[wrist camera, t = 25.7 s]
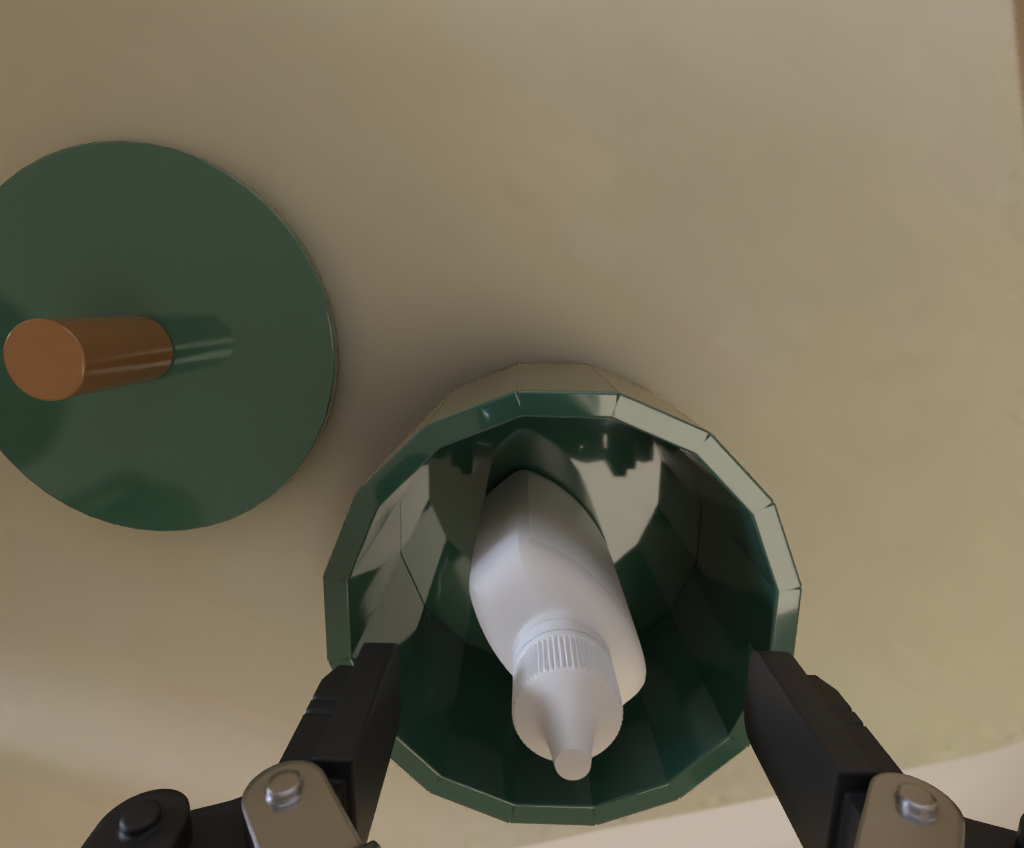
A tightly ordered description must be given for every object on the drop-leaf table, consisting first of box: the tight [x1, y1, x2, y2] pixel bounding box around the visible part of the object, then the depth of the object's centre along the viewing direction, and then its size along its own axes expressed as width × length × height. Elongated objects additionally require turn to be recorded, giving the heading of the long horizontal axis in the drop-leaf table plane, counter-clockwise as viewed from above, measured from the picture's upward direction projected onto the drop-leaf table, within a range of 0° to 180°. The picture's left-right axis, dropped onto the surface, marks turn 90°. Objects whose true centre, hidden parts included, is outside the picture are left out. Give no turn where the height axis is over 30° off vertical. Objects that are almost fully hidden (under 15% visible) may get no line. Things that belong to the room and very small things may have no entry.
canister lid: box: [0, 141, 338, 531], centre depth 20 cm, size 14×14×6 cm
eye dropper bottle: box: [469, 470, 646, 780], centre depth 17 cm, size 4×6×12 cm
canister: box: [323, 362, 802, 826], centre depth 20 cm, size 13×13×8 cm
